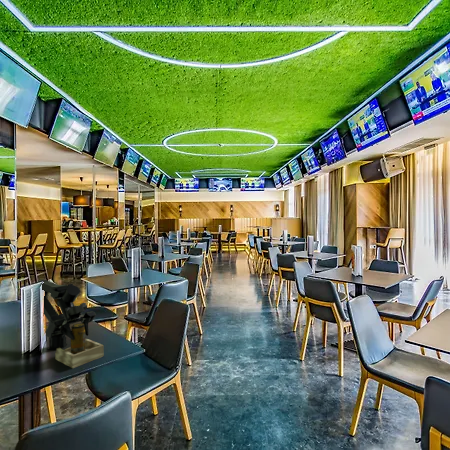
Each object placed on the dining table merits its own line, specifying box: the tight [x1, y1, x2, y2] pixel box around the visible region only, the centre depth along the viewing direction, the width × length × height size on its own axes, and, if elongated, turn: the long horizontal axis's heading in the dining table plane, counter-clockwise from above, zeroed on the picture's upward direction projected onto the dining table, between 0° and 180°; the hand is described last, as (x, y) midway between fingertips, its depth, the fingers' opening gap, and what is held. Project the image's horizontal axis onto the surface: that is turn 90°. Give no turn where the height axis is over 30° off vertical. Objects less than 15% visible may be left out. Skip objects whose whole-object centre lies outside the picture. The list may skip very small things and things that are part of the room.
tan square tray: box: [54, 338, 105, 369], centre depth 136 cm, size 15×14×5 cm
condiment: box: [70, 322, 88, 354], centre depth 136 cm, size 7×8×12 cm
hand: (80, 337), depth 136 cm, fingers closed on condiment, 6 cm apart
